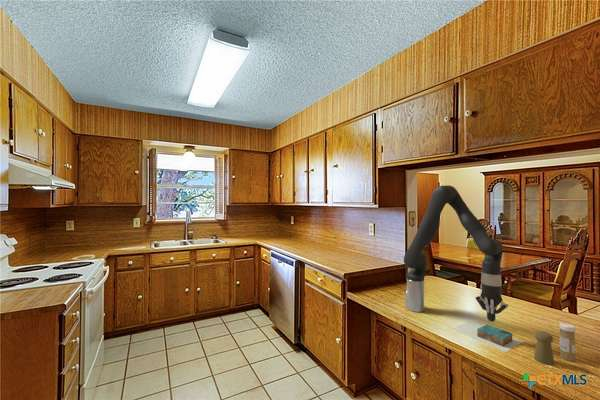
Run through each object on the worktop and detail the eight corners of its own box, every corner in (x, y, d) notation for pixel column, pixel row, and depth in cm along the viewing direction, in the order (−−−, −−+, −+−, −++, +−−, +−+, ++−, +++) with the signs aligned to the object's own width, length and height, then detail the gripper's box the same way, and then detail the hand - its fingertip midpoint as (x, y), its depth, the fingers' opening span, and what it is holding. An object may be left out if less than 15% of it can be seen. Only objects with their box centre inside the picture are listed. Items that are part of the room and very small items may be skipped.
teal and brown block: (477, 328, 123) (502, 338, 115) (487, 324, 128) (512, 333, 119) (477, 336, 123) (502, 346, 115) (487, 331, 128) (512, 341, 119)
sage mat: (450, 329, 131) (450, 328, 131) (469, 322, 139) (469, 321, 139) (505, 353, 111) (505, 352, 111) (523, 342, 119) (523, 341, 119)
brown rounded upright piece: (533, 360, 106) (532, 332, 106) (534, 354, 110) (534, 327, 110) (554, 367, 101) (554, 338, 101) (555, 360, 105) (554, 332, 105)
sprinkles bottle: (578, 362, 104) (578, 327, 104) (565, 361, 105) (565, 326, 105) (569, 355, 109) (568, 322, 109) (556, 354, 110) (556, 321, 110)
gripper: (471, 280, 126) (471, 317, 126) (503, 288, 115) (504, 329, 115) (479, 278, 130) (480, 313, 130) (512, 285, 119) (512, 324, 119)
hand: (491, 320), depth 122 cm, fingers closed
